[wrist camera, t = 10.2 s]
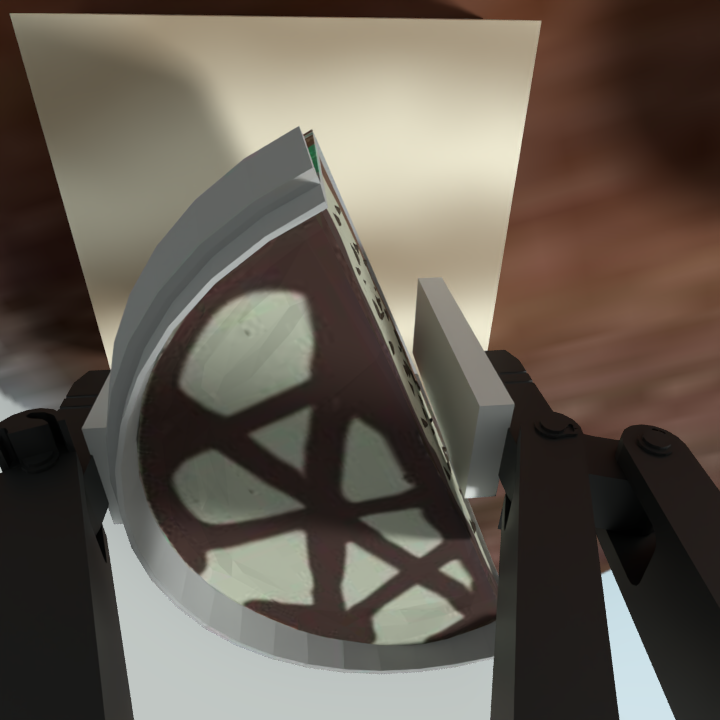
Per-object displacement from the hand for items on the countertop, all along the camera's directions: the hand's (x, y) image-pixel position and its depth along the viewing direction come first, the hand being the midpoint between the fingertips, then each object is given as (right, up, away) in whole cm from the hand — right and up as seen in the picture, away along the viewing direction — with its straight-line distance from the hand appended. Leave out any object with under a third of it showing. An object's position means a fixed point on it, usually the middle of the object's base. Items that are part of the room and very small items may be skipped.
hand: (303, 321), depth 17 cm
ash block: (-1, +6, +9) cm, 10 cm away
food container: (-1, +1, +1) cm, 2 cm away
